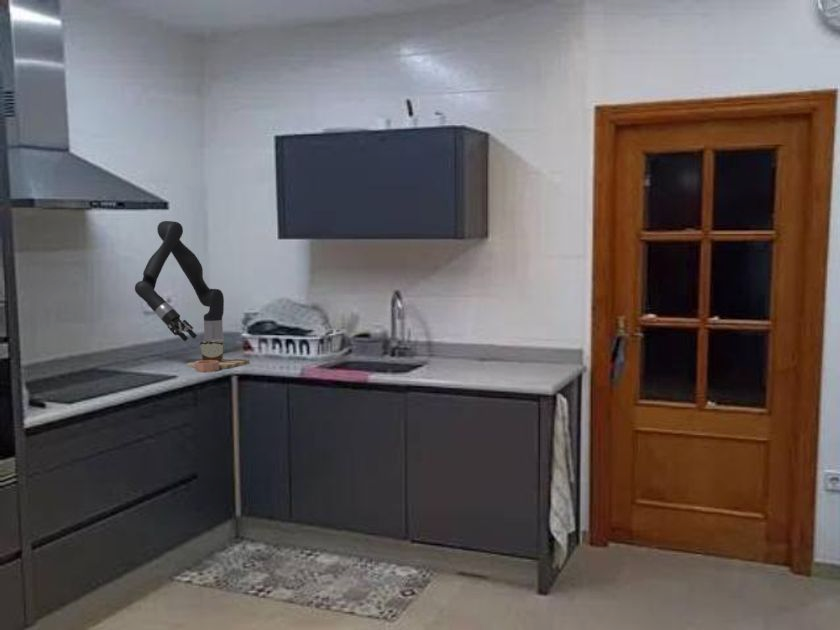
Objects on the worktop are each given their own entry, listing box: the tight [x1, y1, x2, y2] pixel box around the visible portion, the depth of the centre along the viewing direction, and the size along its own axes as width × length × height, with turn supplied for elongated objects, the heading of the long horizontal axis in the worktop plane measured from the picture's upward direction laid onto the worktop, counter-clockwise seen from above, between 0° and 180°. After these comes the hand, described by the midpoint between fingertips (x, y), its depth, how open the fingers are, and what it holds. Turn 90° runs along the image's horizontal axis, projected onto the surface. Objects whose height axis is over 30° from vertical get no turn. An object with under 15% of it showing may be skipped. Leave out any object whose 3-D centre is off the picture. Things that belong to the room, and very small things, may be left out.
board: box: [186, 358, 250, 370], centre depth 381 cm, size 18×22×2 cm
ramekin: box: [194, 360, 219, 373], centre depth 366 cm, size 10×10×4 cm
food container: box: [198, 339, 226, 362], centre depth 382 cm, size 12×6×10 cm, turn 84°
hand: (191, 338), depth 384 cm, fingers open, 8 cm apart
